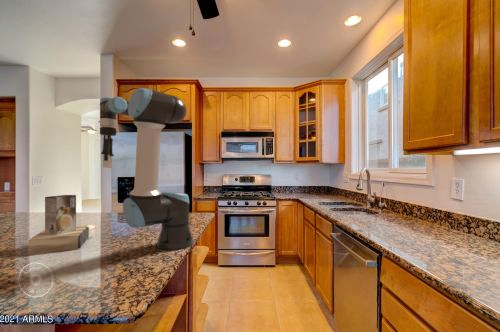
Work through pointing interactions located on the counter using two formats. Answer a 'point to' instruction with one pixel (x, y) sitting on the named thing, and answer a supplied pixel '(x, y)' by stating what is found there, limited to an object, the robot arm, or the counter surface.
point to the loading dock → (58, 241)
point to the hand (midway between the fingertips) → (107, 167)
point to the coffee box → (60, 214)
